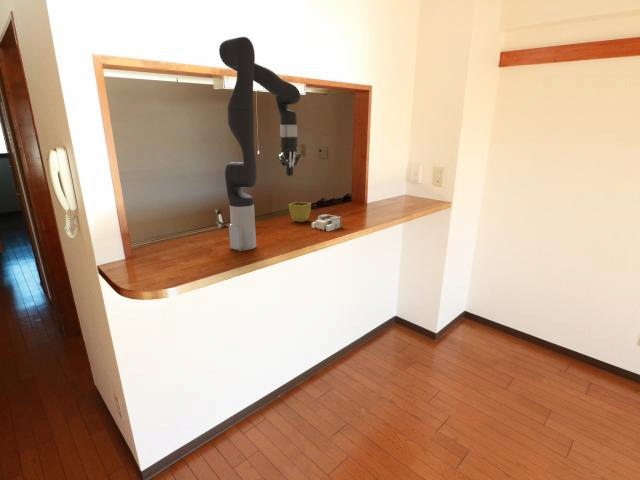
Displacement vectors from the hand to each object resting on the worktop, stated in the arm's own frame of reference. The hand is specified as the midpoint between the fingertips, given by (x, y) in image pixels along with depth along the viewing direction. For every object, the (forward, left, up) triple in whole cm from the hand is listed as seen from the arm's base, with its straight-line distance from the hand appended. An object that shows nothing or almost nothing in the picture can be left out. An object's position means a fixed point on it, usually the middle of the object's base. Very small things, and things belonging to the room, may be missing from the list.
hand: (289, 175), depth 165 cm
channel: (+13, -11, -25) cm, 30 cm away
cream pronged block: (+12, -11, -25) cm, 30 cm away
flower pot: (+15, +8, -25) cm, 30 cm away
